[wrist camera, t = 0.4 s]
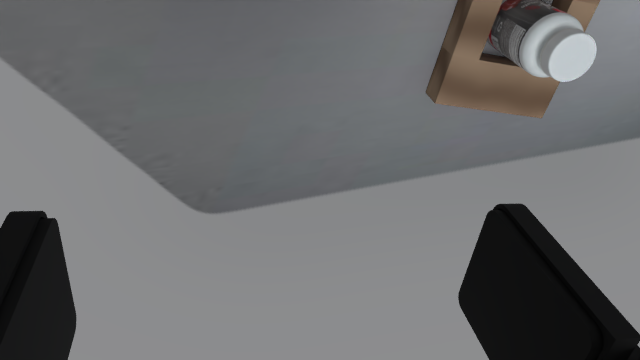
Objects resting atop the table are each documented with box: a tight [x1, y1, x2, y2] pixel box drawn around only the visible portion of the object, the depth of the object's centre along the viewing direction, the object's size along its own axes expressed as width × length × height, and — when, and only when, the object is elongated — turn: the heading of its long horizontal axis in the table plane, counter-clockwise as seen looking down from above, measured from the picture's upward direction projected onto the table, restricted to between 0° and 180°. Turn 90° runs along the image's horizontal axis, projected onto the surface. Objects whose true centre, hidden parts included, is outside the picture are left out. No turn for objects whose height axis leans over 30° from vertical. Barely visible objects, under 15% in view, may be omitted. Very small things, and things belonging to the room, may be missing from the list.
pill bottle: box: [488, 0, 596, 82], centre depth 43 cm, size 5×5×10 cm
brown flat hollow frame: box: [426, 0, 600, 118], centre depth 46 cm, size 16×12×2 cm
